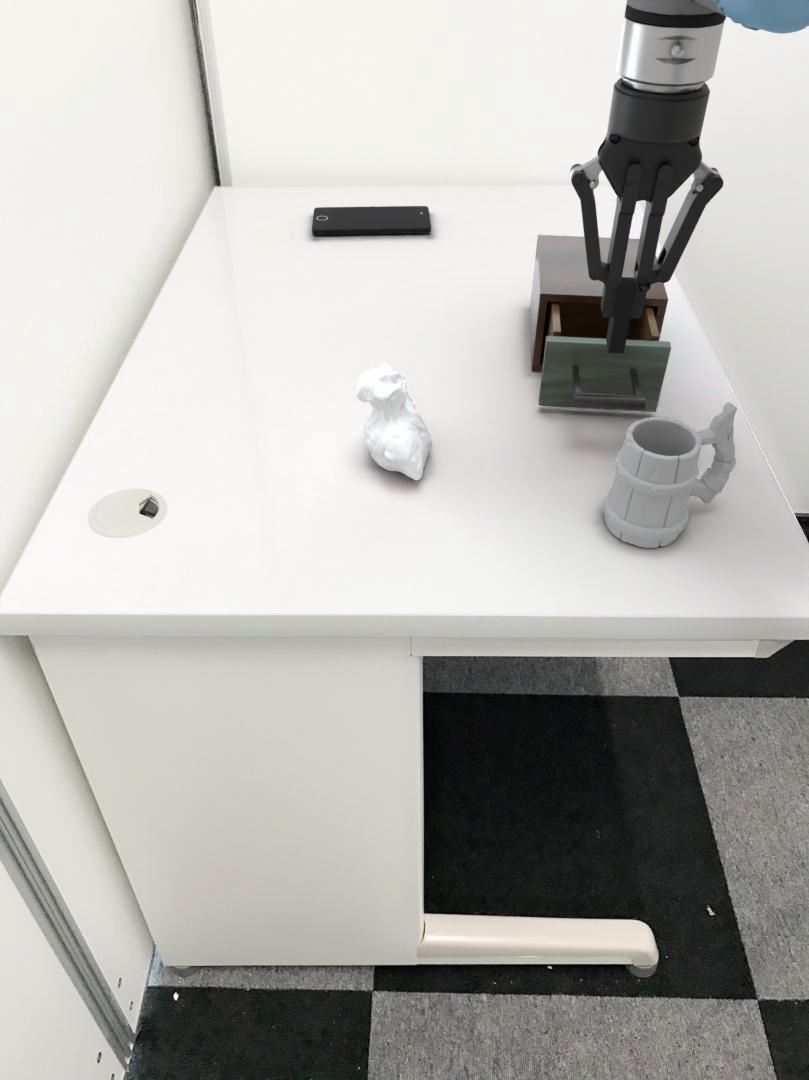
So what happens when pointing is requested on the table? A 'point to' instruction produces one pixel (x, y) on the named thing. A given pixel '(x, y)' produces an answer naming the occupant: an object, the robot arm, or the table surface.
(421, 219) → the cell phone
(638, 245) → the robot arm
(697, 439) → the mug
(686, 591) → the table surface
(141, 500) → the table surface
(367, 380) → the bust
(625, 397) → the drawer
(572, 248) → the cabinet
